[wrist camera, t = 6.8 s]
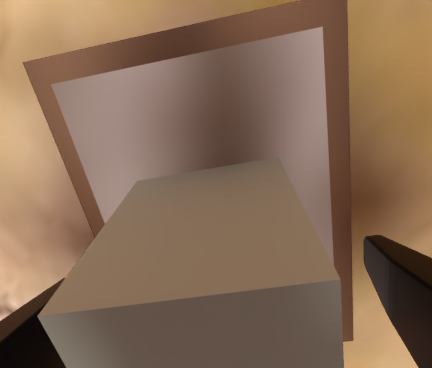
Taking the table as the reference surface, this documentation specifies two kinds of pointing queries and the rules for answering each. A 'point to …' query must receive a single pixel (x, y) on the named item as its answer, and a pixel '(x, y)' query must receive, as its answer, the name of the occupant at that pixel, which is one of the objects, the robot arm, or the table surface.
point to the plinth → (212, 112)
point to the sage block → (202, 279)
